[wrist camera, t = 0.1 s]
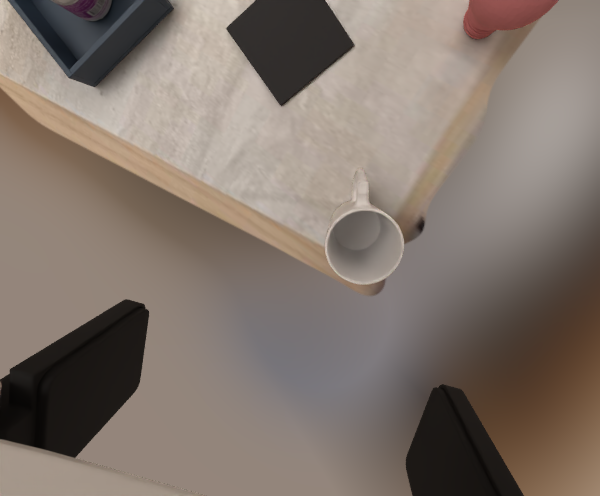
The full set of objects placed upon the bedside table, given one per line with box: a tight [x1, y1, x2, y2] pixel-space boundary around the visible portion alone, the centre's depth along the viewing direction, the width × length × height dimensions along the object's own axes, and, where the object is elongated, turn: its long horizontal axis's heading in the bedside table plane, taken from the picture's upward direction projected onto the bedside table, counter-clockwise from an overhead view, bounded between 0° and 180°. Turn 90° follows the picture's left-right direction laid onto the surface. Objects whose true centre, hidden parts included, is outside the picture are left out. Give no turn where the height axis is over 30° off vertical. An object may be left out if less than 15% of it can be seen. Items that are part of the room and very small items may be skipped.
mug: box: [325, 168, 404, 285], centre depth 34 cm, size 10×7×12 cm, turn 1°
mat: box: [226, 0, 354, 106], centre depth 36 cm, size 10×10×1 cm
